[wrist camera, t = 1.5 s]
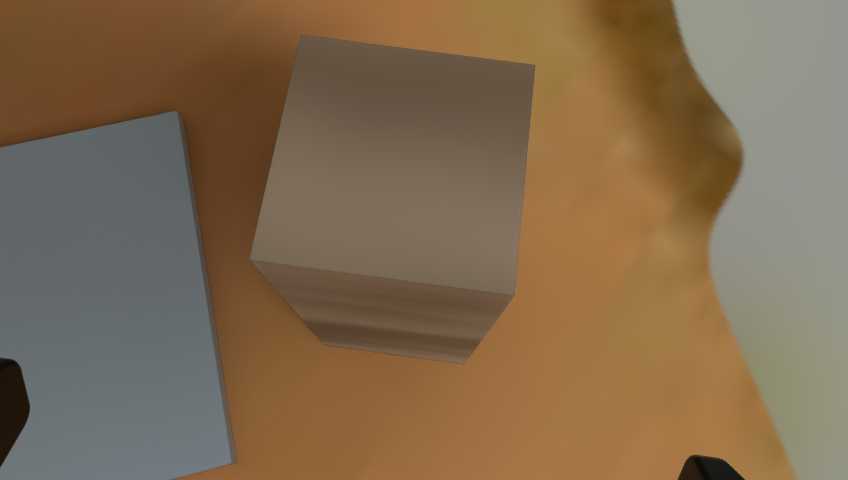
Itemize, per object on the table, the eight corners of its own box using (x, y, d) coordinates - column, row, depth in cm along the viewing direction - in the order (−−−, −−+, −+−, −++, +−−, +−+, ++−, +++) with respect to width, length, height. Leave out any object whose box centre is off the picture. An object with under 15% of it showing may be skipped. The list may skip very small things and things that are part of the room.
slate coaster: (236, 462, 19) (231, 462, 18) (-185, 574, 18) (-204, 578, 17) (182, 118, 22) (177, 110, 22) (-172, 193, 21) (-188, 186, 21)
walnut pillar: (463, 364, 20) (514, 295, 10) (324, 345, 20) (249, 259, 10) (478, 232, 21) (535, 64, 12) (348, 215, 21) (300, 35, 12)
